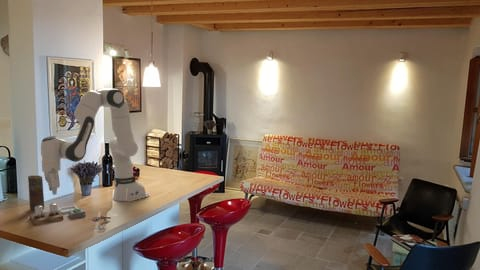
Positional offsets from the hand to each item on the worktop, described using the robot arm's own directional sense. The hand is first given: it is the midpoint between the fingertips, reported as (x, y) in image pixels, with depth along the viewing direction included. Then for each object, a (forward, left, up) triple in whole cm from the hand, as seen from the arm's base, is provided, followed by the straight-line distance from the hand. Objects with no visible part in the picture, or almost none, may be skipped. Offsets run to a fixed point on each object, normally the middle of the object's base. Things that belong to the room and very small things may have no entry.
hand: (52, 192), depth 197 cm
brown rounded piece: (+5, -20, -15) cm, 26 cm away
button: (-11, +4, -13) cm, 17 cm away
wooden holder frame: (+4, 0, -15) cm, 15 cm away
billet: (0, 0, -15) cm, 15 cm away
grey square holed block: (-11, +4, -15) cm, 18 cm away
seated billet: (+7, 0, -15) cm, 16 cm away
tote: (-9, -7, -15) cm, 19 cm away
